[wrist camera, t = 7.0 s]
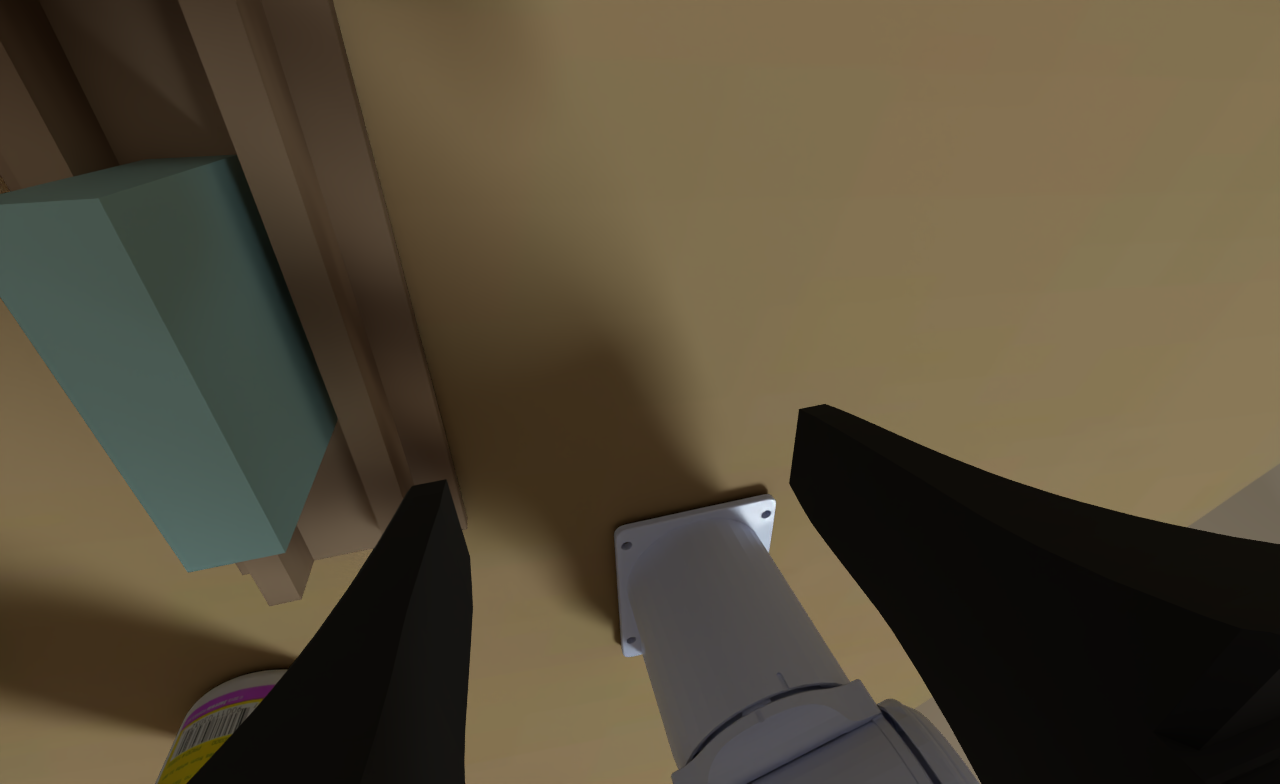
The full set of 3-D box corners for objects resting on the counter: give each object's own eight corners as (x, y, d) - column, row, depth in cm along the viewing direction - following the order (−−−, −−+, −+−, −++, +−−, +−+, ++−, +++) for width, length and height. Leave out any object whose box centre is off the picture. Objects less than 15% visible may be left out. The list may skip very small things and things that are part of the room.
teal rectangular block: (338, 418, 17) (285, 552, 12) (270, 428, 17) (188, 572, 12) (238, 154, 13) (98, 198, 8) (145, 159, 13) (-61, 208, 8)
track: (467, 518, 22) (466, 678, 16) (248, 562, 20) (156, 761, 14) (268, -245, 11) (30, -630, 5) (-255, -295, 9) (-1586, -986, 3)
